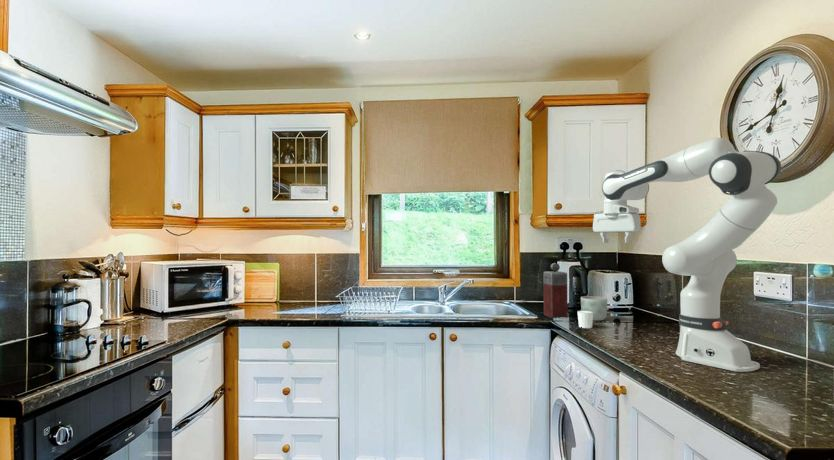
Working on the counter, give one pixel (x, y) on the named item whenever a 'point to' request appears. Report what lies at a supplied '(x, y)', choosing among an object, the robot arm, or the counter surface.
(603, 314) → the planter
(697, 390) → the counter surface
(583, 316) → the shot glass
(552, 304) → the red decanter
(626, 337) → the counter surface
